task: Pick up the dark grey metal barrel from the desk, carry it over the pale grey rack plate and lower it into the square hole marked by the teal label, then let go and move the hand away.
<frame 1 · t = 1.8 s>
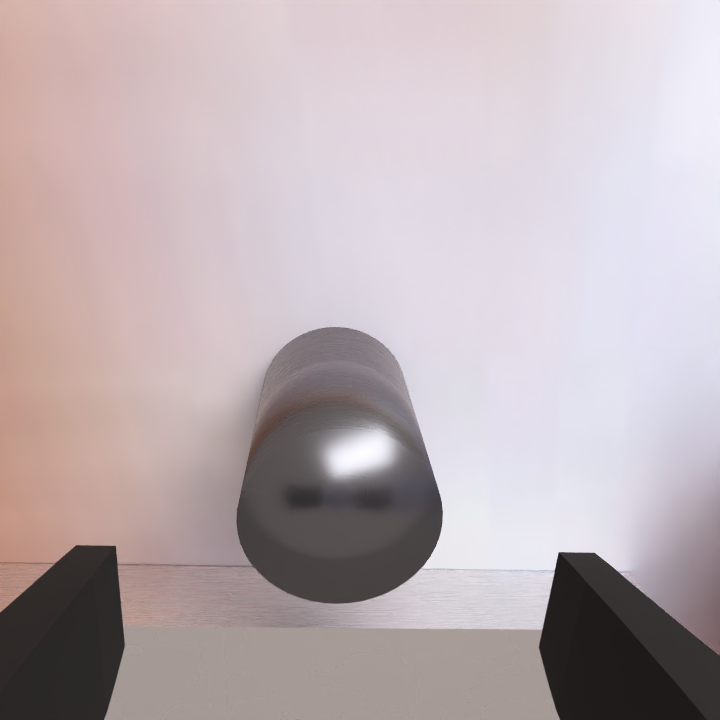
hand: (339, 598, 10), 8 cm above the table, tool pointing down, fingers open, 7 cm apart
barrel: (334, 394, 18), on the table
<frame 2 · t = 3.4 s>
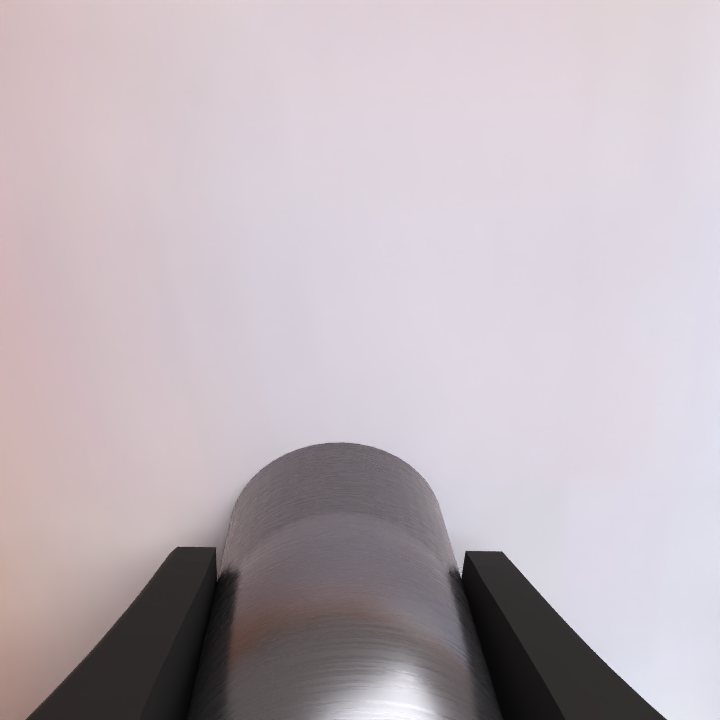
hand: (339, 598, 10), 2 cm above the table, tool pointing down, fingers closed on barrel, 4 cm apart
barrel: (337, 536, 12), on the table, touching gripper
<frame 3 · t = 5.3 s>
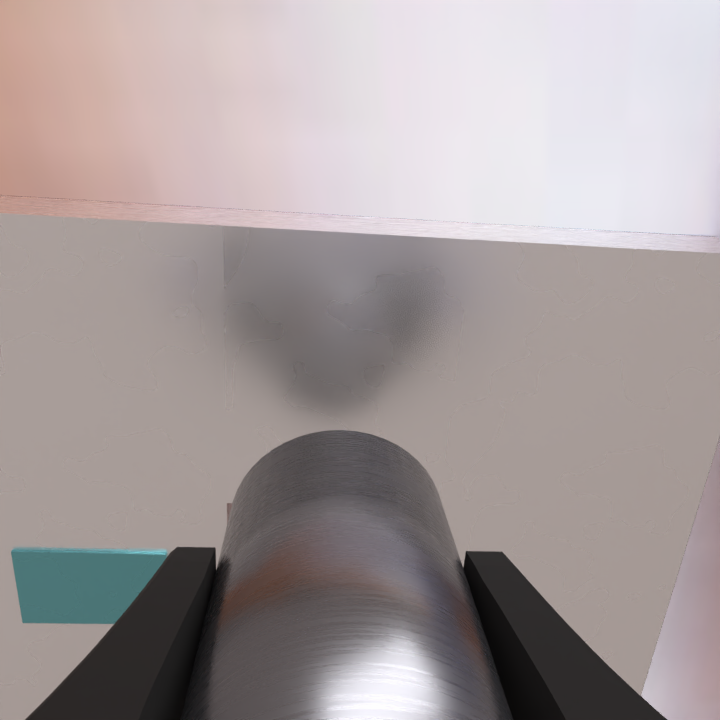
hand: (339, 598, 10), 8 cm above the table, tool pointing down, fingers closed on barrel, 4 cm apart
rack plate: (331, 480, 19), on the table
barrel: (337, 526, 12), point 7 cm above the table, touching gripper
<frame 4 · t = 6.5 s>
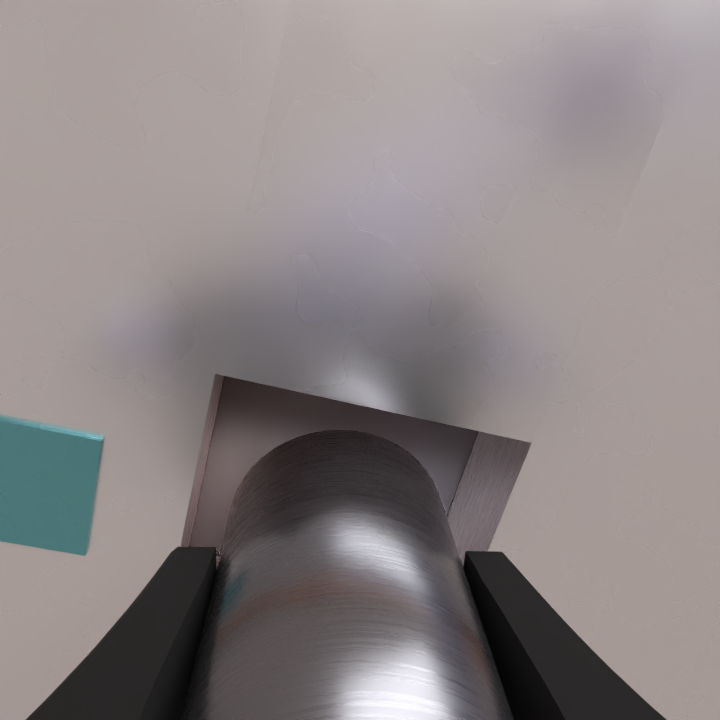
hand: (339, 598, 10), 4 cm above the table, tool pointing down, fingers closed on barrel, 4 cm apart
rack plate: (359, 391, 13), on the table
barrel: (337, 526, 12), point 2 cm above the table, touching gripper
when the fingers open (4 cm above the table, at t = 7.4 s): barrel drops 2 cm, resting in rack plate.
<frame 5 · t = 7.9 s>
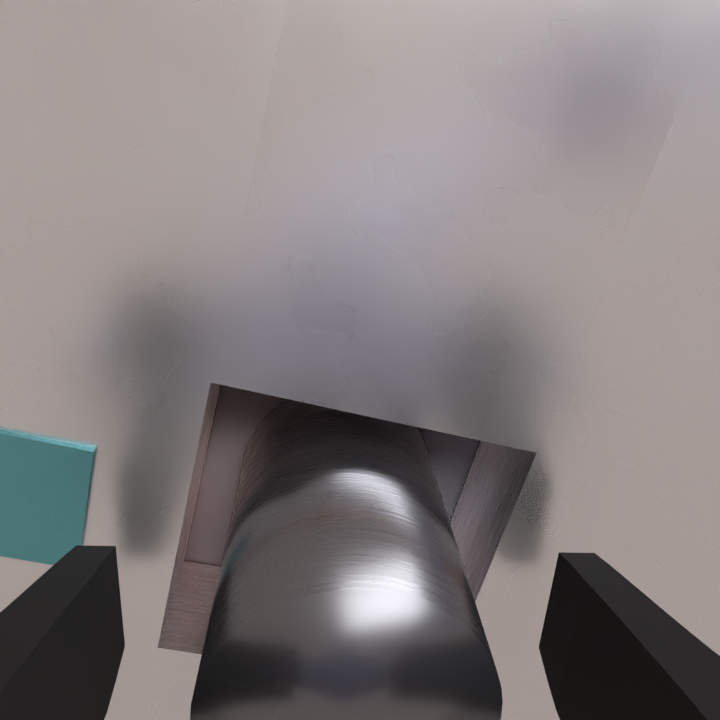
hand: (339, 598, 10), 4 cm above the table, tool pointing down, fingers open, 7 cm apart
rack plate: (359, 398, 13), on the table
barrel: (336, 472, 14), resting in rack plate
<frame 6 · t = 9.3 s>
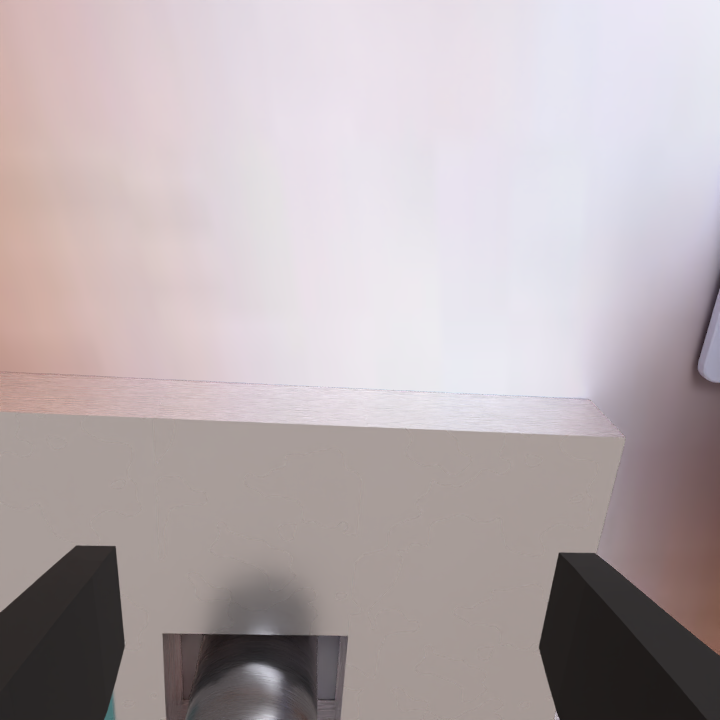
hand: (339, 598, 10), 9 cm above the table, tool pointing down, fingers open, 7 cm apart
rack plate: (262, 597, 22), on the table
barrel: (261, 637, 23), resting in rack plate
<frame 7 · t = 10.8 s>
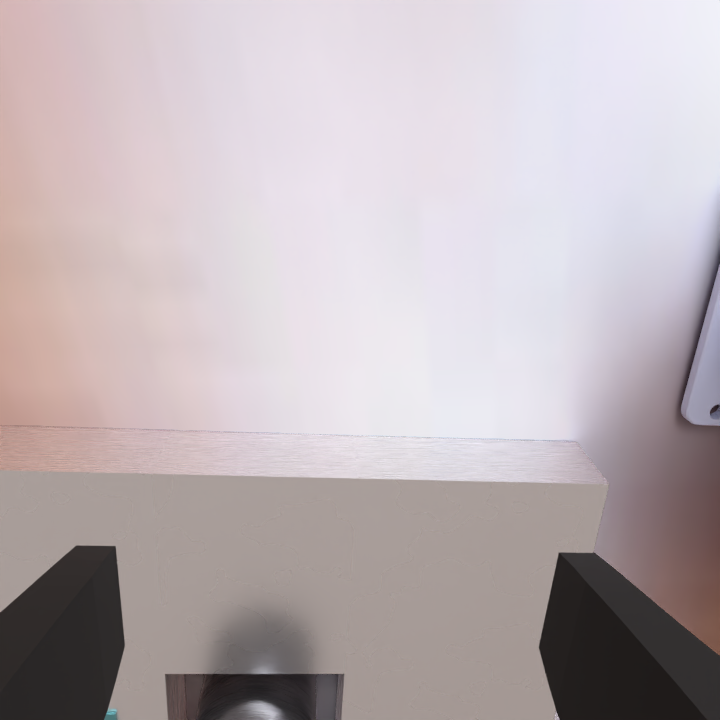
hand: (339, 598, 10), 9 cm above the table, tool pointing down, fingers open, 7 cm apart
rack plate: (262, 632, 23), on the table
barrel: (261, 670, 23), resting in rack plate
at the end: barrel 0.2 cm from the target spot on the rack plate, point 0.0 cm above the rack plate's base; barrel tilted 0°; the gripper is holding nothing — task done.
